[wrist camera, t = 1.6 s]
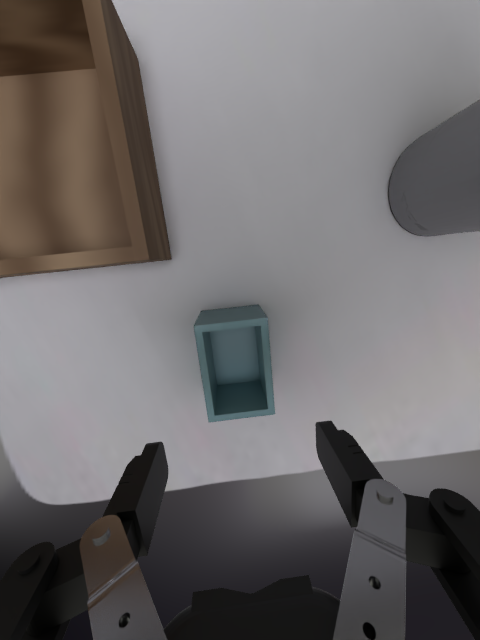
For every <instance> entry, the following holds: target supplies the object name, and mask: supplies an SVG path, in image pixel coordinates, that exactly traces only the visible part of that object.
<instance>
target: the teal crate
mask: <svg viewBox="0 0 480 640" xmlns="http://www.w3.org/2000/svg"><path fill="white" fill-rule="evenodd" d="M194 331H195V338H196V344H197V351H198V357H199V363H200V370H201V376H202V383H203V389H204V395H205V402H206V408H207V415H208V421H209V422H216V421H224V420H232V419H240V418H248V417H256V416H264V415H273V414H275V407H274V394H273V381H272V368H271V356H270V343H269V330H268V318H267V316H266V315H265V313H264V312H263V310H262V309H261V307H260V306H259V305H251V306H242V307H233V308H224V309H215V310H206V311H201V312H200V314H199V316H198V318H197V320H196V322H195V324H194Z"/></svg>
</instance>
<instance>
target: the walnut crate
mask: <svg viewBox="0 0 480 640" xmlns="http://www.w3.org/2000/svg"><path fill="white" fill-rule="evenodd" d="M163 260H171V254H170V248H169V242H168V236H167V230H166V224H165V218H164V212H163V206H162V200H161V194H160V188H159V182H158V176H157V170H156V164H155V158H154V152H153V146H152V140H151V134H150V128H149V122H148V116H147V110H146V104H145V98H144V92H143V86H142V81H141V75H140V69H139V63H138V58H137V56H136V54H135V52H134V49H133V47H132V45H131V43H130V41H129V38H128V36H127V34H126V32H125V29H124V27H123V25H122V23H121V20H120V18H119V16H118V14H117V11H116V9H115V7H114V5H113V3H112V0H0V278H3V277H13V276H22V275H31V274H41V273H50V272H60V271H69V270H78V269H88V268H97V267H107V266H116V265H125V264H135V263H144V262H154V261H163Z"/></svg>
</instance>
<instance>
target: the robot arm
mask: <svg viewBox="0 0 480 640" xmlns="http://www.w3.org/2000/svg"><path fill="white" fill-rule="evenodd" d="M389 201H390V205H391V210H392V212H393V214H394V216H395V218H396V220H397V221H398V222H399V223H400V225H401V226H402V227H403V228H405V229H406V230H408V231H409V232H411V233H414V234H416V235H420V236H435V235H445V234H454V233H463V232H474V231H480V100H478V101H477V102H475V103H473V104H472V105H470V106H469V107H467V108H466V109H464V110H462V111H460V112H459V113H457V114H456V115H454V116H453V117H451V118H449V119H448V120H446V121H445V122H443V123H442V124H440V125H438V126H437V127H435V128H434V129H432V130H431V131H429V132H427V133H426V134H424V135H423V136H421V137H419V138H418V139H416V140H415V141H414V142H413V143H412V144H411V145H409V146H408V147H407V149H406V150H405V151H404V152H403V154H402V155H401V156H400V158H399V160H398V161H397V163H396V165H395V167H394V170H393V173H392V176H391V179H390V185H389ZM316 448H317V454H318V457H319V460H320V462H321V464H322V467H323V469H324V471H325V473H326V475H327V477H328V479H329V481H330V483H331V485H332V488H333V490H334V492H335V494H336V496H337V498H338V501H339V503H340V505H341V507H342V509H343V511H344V513H345V515H346V518H347V520H348V522H349V524H350V526H351V527H357V529H355V531H354V535H353V540H352V545H351V551H350V555H349V560H348V565H347V570H346V575H345V580H344V586H343V591H342V596H341V601H340V600H339V599H338V598H336V597H334V596H333V595H332V594H330V593H328V592H326V591H324V590H321V589H318V588H314V587H312V586H311V582H310V578H309V575H306V576H299V577H293V578H286V579H280V580H278V581H276V582H274V583H272V584H271V585H269V586H267V587H265V588H263V589H261V590H259V591H257V592H255V593H252V594H249V593H244V592H239V591H234V590H229V589H224V588H218V589H211V590H204V591H198V592H193V597H192V605H191V606H189V607H187V608H186V609H185V610H183V611H182V612H180V613H179V614H178V615H177V616H176V617H175V618H174V619H172V621H171V622H170V623H169V624H168V625H167V626H166V627H165V629H164V630H163V627H162V625H161V622H160V620H159V617H158V614H157V612H156V609H155V607H154V604H153V601H152V599H151V596H150V593H149V591H148V588H147V585H146V583H145V581H144V578H143V575H142V572H141V570H140V567H139V565H138V562H137V558H138V557H140V556H147V555H148V551H149V547H150V544H151V540H152V536H153V532H154V529H155V525H156V521H157V517H158V513H159V510H160V506H161V502H162V498H163V494H164V491H165V487H166V483H167V479H168V464H167V460H166V455H165V450H164V445H163V443H162V442H155V443H147V444H146V445H145V447H144V450H143V452H142V454H141V455H140V456H135V457H134V458H133V459H132V461H131V462H130V463H129V464H128V465H127V467H126V469H125V471H124V473H123V476H122V477H121V479H120V481H119V485H118V486H117V488H116V490H115V492H114V494H113V496H112V498H111V500H110V502H109V504H108V507H107V508H106V510H105V513H104V515H103V517H102V518H100V519H98V520H97V521H95V522H94V523H93V524H92V525H91V526H90V527H89V528H88V529H87V530H86V531H85V533H84V534H83V536H82V538H81V539H79V540H77V541H75V542H72V543H70V544H68V545H66V546H63V547H61V548H59V549H57V550H55V548H54V545H53V544H52V543H50V542H43V543H39V544H37V545H35V546H33V547H31V548H30V549H28V550H26V551H25V552H24V553H23V554H21V555H20V556H19V557H18V558H17V559H16V560H15V561H14V562H13V564H12V565H11V566H10V567H9V569H8V570H7V572H6V573H5V575H4V577H3V578H2V580H1V581H0V640H63V637H64V635H65V632H66V630H67V627H68V625H69V622H70V620H71V618H73V617H75V616H76V615H78V614H80V613H81V612H84V611H86V610H88V611H89V616H90V622H91V628H92V634H93V640H405V598H406V597H405V596H406V561H410V562H414V563H418V564H423V565H427V566H430V567H431V569H432V571H433V572H434V574H435V575H436V577H437V579H438V580H439V582H440V583H441V585H442V587H443V588H444V590H445V592H446V593H447V595H448V597H449V598H450V600H451V602H452V603H453V605H454V606H455V608H456V610H457V611H458V613H459V614H460V616H461V618H462V619H463V621H464V623H465V624H466V626H467V627H468V629H469V631H470V632H471V634H472V636H473V637H474V639H475V640H480V511H479V510H478V509H477V508H476V507H475V506H474V505H473V504H472V503H471V502H470V501H469V500H468V499H466V498H465V497H463V496H462V495H460V494H458V493H456V492H454V491H451V490H447V489H434V490H433V491H431V493H430V496H429V498H424V497H418V496H412V495H407V494H404V493H402V491H401V490H400V489H399V488H398V487H396V486H395V485H394V484H392V483H390V482H388V481H386V480H384V479H383V478H382V476H381V475H380V474H379V472H378V471H377V469H376V468H375V467H374V465H373V464H372V462H371V461H370V460H369V458H368V457H367V456H366V454H365V453H364V452H363V450H362V449H361V447H360V446H359V444H358V443H357V442H356V440H355V439H354V438H353V436H351V435H350V434H349V433H347V432H346V431H345V430H337V429H336V427H335V426H334V424H333V423H332V421H323V422H317V423H316Z"/></svg>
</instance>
